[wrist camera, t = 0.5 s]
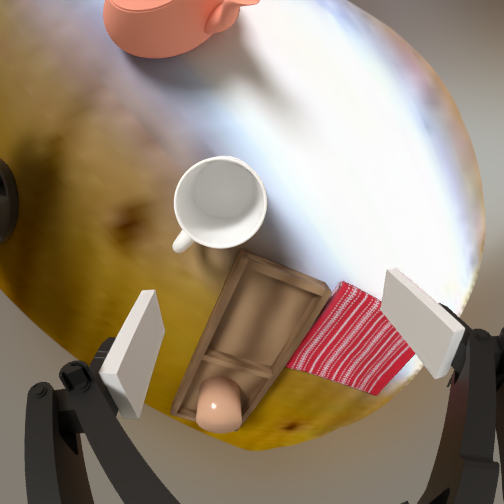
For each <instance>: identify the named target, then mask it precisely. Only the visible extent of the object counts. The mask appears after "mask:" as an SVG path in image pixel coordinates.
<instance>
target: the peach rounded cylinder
mask: <svg viewBox="0 0 504 504" xmlns="http://www.w3.org/2000/svg"><path fill="white" fill-rule="evenodd" d="M196 422H197V424H198V425H199V426H200V427H201V428H203V429H204V430H207V431H209V432H214V433H228V432H232V431H234V430H236V429H238V428H239V427H240V426H241V423H242V416H241V392H240V387H239V385H238V384H237V383H236V382H235V381H234V380H232V379H229V378H226V377H211V378H208V379H206V380H204V381H203V382H202V383H201V385H200V388H199V396H198V405H197V415H196Z"/></svg>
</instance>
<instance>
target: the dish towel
mask: <svg viewBox="0 0 504 504" xmlns="http://www.w3.org/2000/svg"><path fill="white" fill-rule="evenodd" d="M381 303H382V302H381V301H379V300H378V299H377V298H375V297H373V296H371V295H369V294H367V293H366V292H364V291H362V290H360V289H358V288H356V287H355V286H353V285H350V284H349V283H346V282H344V281H342V282H340V283H338V285H337V286H336V288H335V290H334V291H333V292H332V293H331V295H330V296H329V298H328V300H327V301H326V303H325V305H324V306H323V308H322V310H321V311H320V313H319V315H318V316H317V318H316V319H315V321H314V323H313V324H312V326H311V327H310V329H309V331H308V332H307V334H306V335H305V337H304V338H303V340H302V341H301V343H300V345H299V346H298V348H297V349H296V351H295V352H294V354H293V355H292V357H291V358H290V360H289V361H288V363H287V364H286V365H285V366H286V367H288V368H291V369H295V370H299V371H306V372H308V373H311V374H314V375H317V376H320V377H323V378H326V379H329V380H332V381H334V382H338V383H341V384H344V385H348V386H350V387H353V388H356V389H359V390H361V391H364V392H367V393H370V394H372V395H378V394H379V393H380V391H381V390H382V389H383V388H384V387H385V386H386V385H387V384H388V383H389V381H390V380H391V379H392V378H393V377H394V376H395V375H396V374H397V373H398V372H399V371H400V370H401V369H402V368H403V367H404V365H405V364H406V363H407V362H408V361H409V360H410V359H411V358H412V357H413V356H414V355H415V352H414V351H413V350H412V349H411V347H410V346H409V345H408V343H407V342H406V341H405V340H404V338H403V337H402V336H401V335H400V333H399V332H398V331H397V330H396V328H395V327H394V326H393V325H392V323H391V322H390V321H389V320H388V319H387V317H386V316H385V315H384V314H383V312H382V311H381V310H380V309H381Z"/></svg>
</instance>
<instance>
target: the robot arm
mask: <svg viewBox="0 0 504 504" xmlns="http://www.w3.org/2000/svg"><path fill="white" fill-rule="evenodd" d="M17 215H18V196H17V189H16V184H15V181H14V178H13V175H12V173H11V171H10V169H9V167H8V166H7V164H6V163H5V162H4V161H3V160H1V159H0V244H1V243H3V242H5V241H6V240H8V239H9V237H10V236H11V235H12V233H13V231H14V228H15V225H16V221H17ZM380 310H381V311H382V312H383V314H384V315H385V316H386V317H387V319H388V320H389V321H390V322H391V323H392V325H393V326H394V327H395V328H396V330H397V331H398V332H399V333H400V335H401V336H402V337H403V338H404V340H405V341H406V342H407V343H408V345H409V346H410V347H411V349H412V350H413V351H414V352H415V354H416V355H417V356H418V358H419V359H420V360H421V361H422V363H423V364H424V365H425V367H426V368H427V369H428V370H429V372H430V373H431V375H432V376H433V377H434V379H438V378H440V377H443V376H445V375H447V373H448V371H449V368H450V366H452V367H453V368H454V372H453V374H452V377H451V378H450V380H449V383H448V385H447V387H449V385H450V384H451V388H450V395H449V402H448V408H447V413H446V418H445V424H444V428H443V432H442V437H441V441H440V445H439V449H438V453H437V456H436V460H435V463H434V467H433V470H432V473H431V476H430V479H429V482H428V485H427V488H426V490H425V492H424V494H423V495H422V497H421V498H420V500H419V501H418V503H417V504H493V502H494V498H495V492H496V487H497V482H498V476H499V463H498V462H493V452H494V442H495V428H496V432H497V439H498V445H499V453H500V462H501V474H502V490H503V500H504V328H502V330H501V333H500V335H499V336H491V335H490V334H489V333H488V332H487V331H485V330H482V329H473V330H472V329H471V328H470V327H469V326H468V325H467V324H466V323H465V322H463V321H462V320H461V319H460V318H459V317H457V315H456V314H455V313H453V312H452V311H451V310H450V309H449V308H448V307H447V306H445V305H443V304H441V303H437V302H436V301H435V300H434V299H433V298H432V297H430V296H429V295H428V294H427V293H426V292H425V291H424V290H422V289H421V288H420V287H419V286H418V285H417V284H415V283H414V282H413V281H412V280H411V279H409V278H408V277H407V276H406V275H405V274H403V273H402V272H401V271H400V270H399V269H397V268H395V269H387V270H386V277H385V284H384V291H383V297H382V303H381V309H380ZM164 333H165V329H164V325H163V321H162V317H161V313H160V309H159V304H158V300H157V296H156V291H155V290H142V292H141V294H140V295H139V297H138V299H137V301H136V302H135V304H134V306H133V308H132V310H131V311H130V313H129V315H128V317H127V319H126V321H125V322H124V324H123V326H122V328H121V330H120V332H119V334H118V335H117V337H109V338H108V339H106V340H105V341H104V342H103V343H102V344H101V346H100V348H99V349H98V352H97V353H96V355H95V358H93V360H92V362H91V364H90V366H89V367H88V365H87V364H86V363H85V362H83V361H72V362H69V363H68V364H66V365H65V366H63V368H61V370H60V372H59V378H60V379H61V381H62V383H63V385H64V386H65V388H66V389H61V390H54V389H53V387H52V386H51V385H50V384H49V383H47V382H40V383H37V384H35V385H34V386H32V387H31V389H30V390H29V392H28V397H27V406H26V420H25V421H26V422H25V477H26V489H27V499H28V504H94V501H93V497H92V493H91V489H90V485H89V481H88V477H87V472H86V467H85V462H84V457H83V451H82V445H81V438H80V433H85V434H86V436H87V439H88V441H89V443H90V445H91V447H92V449H93V451H94V453H95V455H96V456H97V458H98V460H99V462H100V464H101V466H102V468H103V469H104V471H105V473H106V475H107V476H108V478H109V480H110V482H111V483H112V485H113V486H114V488H115V489H116V491H117V493H118V494H119V496H120V497H121V499H122V500H123V502H124V503H125V504H180V503H179V502H178V500H177V499H176V498H175V497H174V496H173V495H172V494H171V493H170V491H169V490H168V489H167V488H166V487H165V486H164V484H163V483H162V482H161V481H160V479H159V478H158V477H157V476H156V474H155V473H154V472H153V471H152V469H151V468H150V467H149V465H148V464H147V463H146V461H145V460H144V459H143V457H142V456H141V454H140V453H139V452H138V450H137V449H136V447H135V446H134V444H133V443H132V441H131V440H130V439H129V437H128V436H127V434H126V432H125V431H124V429H123V428H122V426H121V425H120V423H119V421H118V420H117V418H116V415H117V413H118V410H119V412H120V414H121V415H122V417H123V418H126V419H137V420H139V419H140V415H141V411H142V408H143V404H144V400H145V397H146V393H147V390H148V386H149V383H150V379H151V376H152V372H153V369H154V366H155V362H156V359H157V356H158V352H159V349H160V346H161V343H162V339H163V336H164ZM401 504H409V503H408V501H406V502H404V503H401Z"/></svg>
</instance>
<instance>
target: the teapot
mask: <svg viewBox="0 0 504 504" xmlns="http://www.w3.org/2000/svg"><path fill="white" fill-rule="evenodd" d="M259 1H260V0H105V3H104V10H103V18H104V24H105V27H106V30H107V32H108V34H109V36H110V37H111V39H112V40H113V41H114V43H115V44H116V45H117V46H119V47H120V48H121V49H122V50H124V51H125V52H127V53H130V54H132V55H135V56H139V57H144V58H167V57H173V56H176V55H180V54H183V53H186V52H188V51H190V50H192V49H194V48H196V47H197V46H199V45H201V44H202V43H203V42H205V41H206V40H207V39H208V38H209V37H210V36H211V35H212V34H213V33H219V32H222V31H225V30H227V29H228V28H230V27H231V26H232V25H233V24H234V22H235V21H236V19H237V18H238V15H239V11H240V7H241V6H247V5H255V4H257V3H258V2H259Z"/></svg>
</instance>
